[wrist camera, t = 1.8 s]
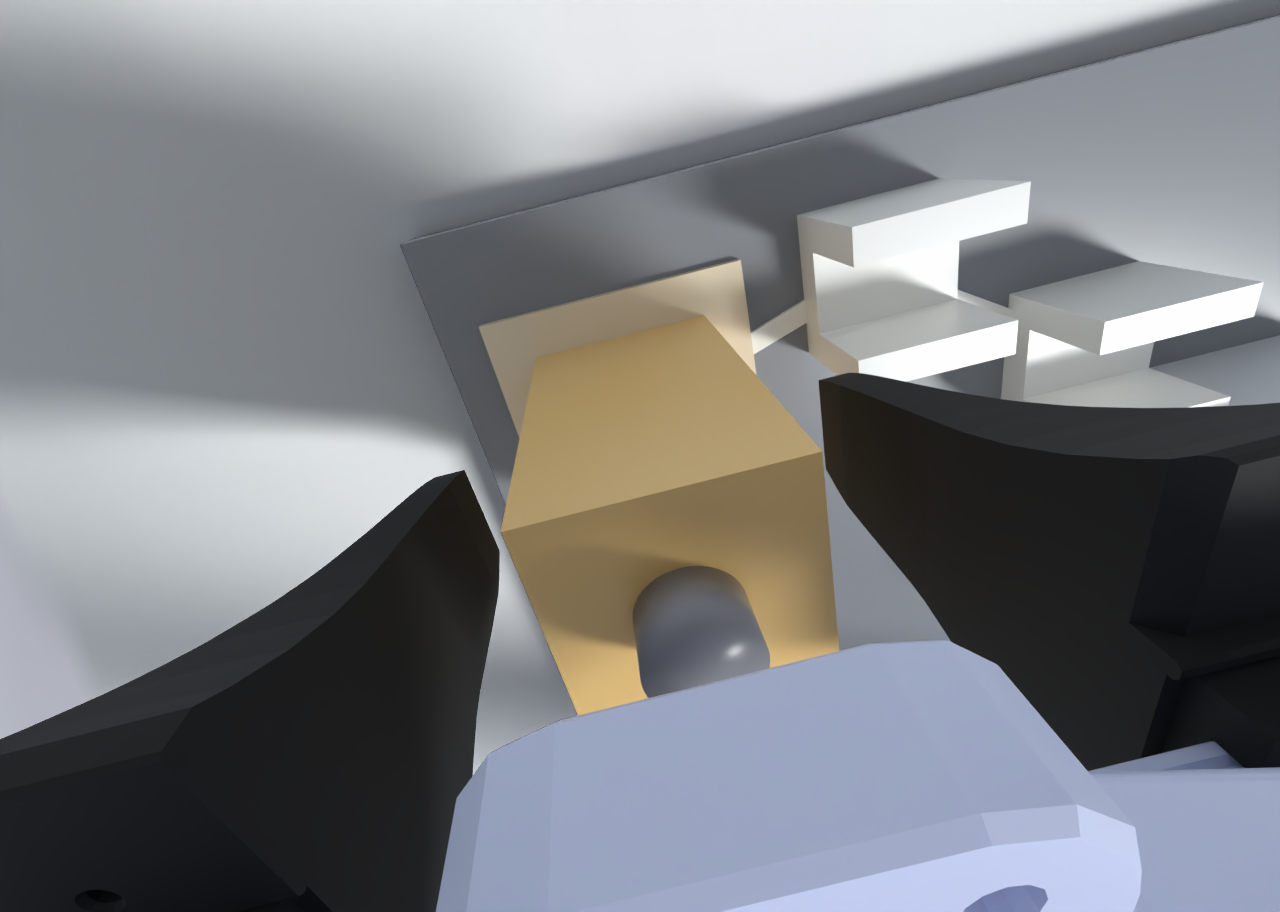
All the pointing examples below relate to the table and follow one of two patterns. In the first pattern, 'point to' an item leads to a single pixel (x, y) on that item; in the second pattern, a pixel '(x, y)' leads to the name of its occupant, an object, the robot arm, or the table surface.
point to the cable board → (920, 264)
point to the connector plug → (667, 518)
